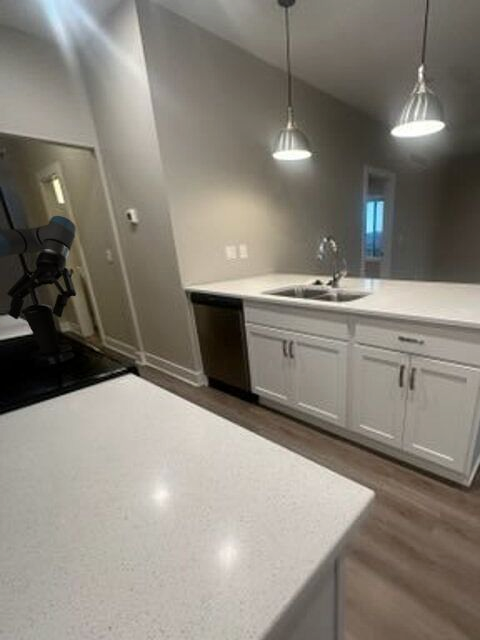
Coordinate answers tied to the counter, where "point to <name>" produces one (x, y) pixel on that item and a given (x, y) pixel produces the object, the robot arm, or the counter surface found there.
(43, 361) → the stand
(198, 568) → the counter surface
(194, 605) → the counter surface
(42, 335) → the drinking cup
